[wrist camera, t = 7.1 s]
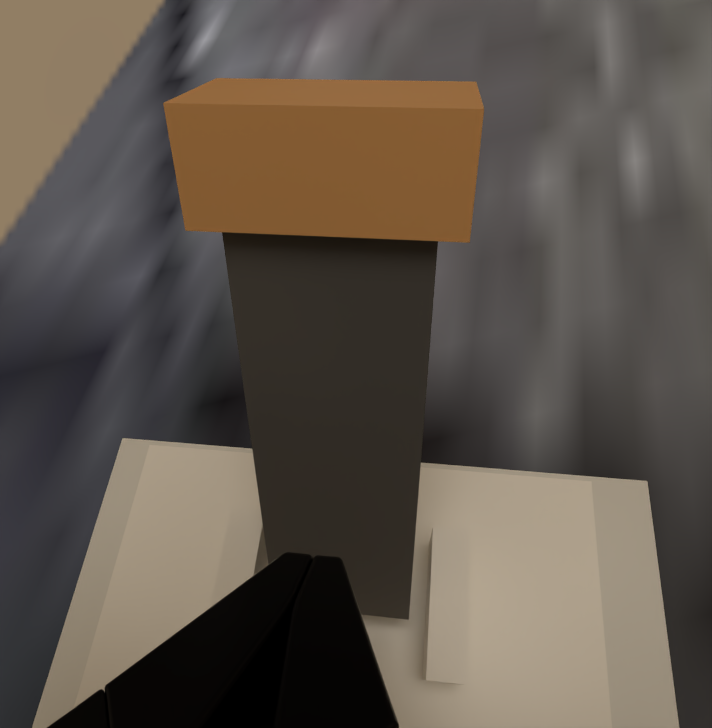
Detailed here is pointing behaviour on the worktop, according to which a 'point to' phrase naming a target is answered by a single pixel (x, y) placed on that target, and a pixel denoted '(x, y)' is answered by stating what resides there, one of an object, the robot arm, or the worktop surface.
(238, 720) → the robot arm
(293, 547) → the lever
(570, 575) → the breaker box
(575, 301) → the worktop surface
